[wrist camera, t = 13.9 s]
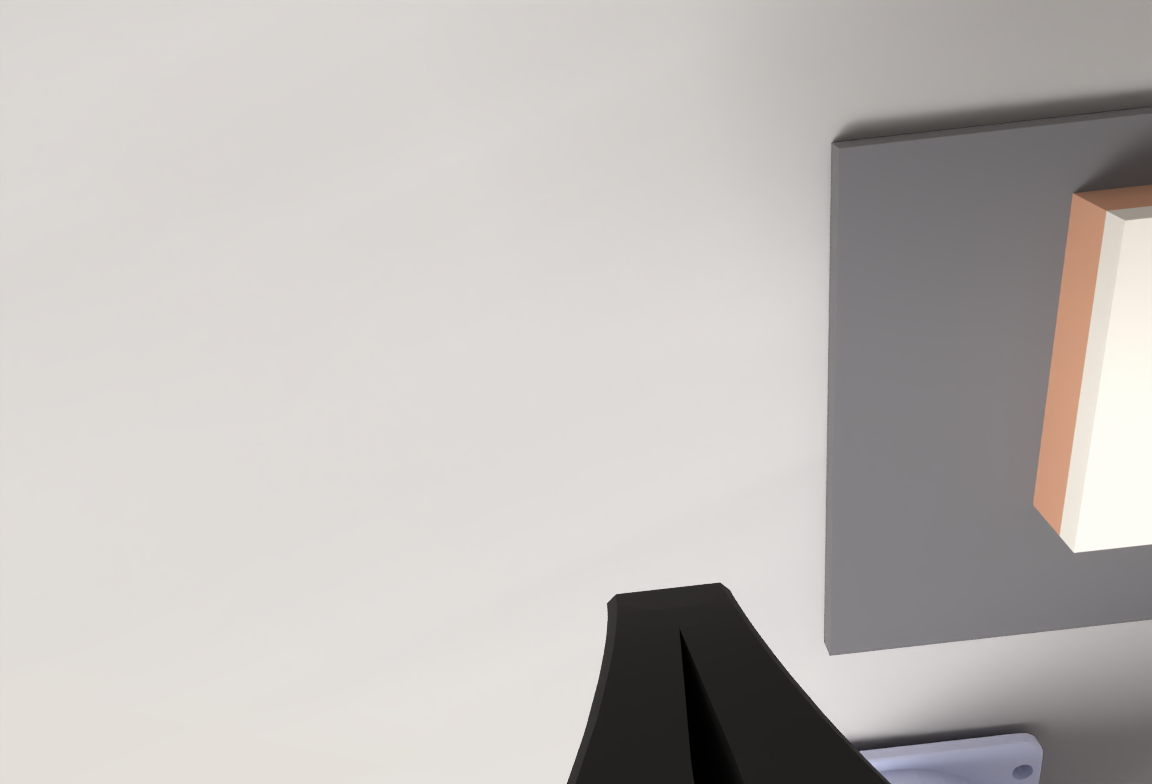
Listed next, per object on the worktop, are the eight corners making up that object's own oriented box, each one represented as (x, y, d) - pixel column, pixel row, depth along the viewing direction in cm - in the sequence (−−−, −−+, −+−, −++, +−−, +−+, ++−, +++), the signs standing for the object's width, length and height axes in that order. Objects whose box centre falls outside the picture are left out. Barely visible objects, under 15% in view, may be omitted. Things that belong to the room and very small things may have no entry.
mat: (1318, 585, 24) (1333, 598, 23) (823, 641, 24) (830, 655, 23) (1468, 71, 19) (1491, 75, 18) (831, 142, 18) (839, 148, 18)
